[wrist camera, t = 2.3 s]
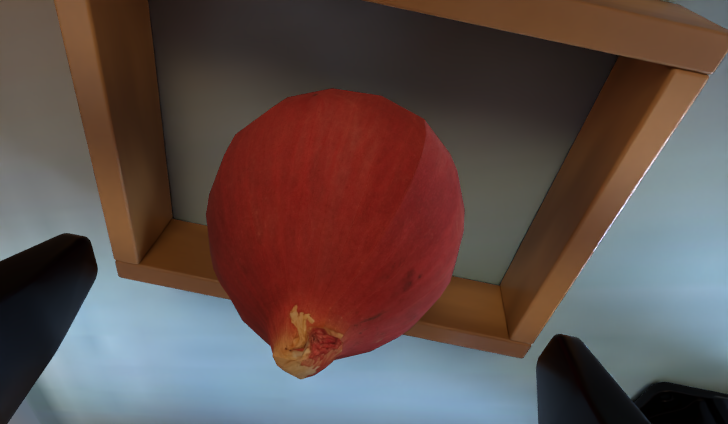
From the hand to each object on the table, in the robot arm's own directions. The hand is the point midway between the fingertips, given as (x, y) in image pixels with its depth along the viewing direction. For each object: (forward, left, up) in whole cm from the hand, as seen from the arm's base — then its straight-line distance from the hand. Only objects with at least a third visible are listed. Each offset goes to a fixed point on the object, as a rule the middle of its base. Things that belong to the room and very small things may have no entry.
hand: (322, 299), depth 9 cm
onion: (0, 0, -6) cm, 6 cm away
